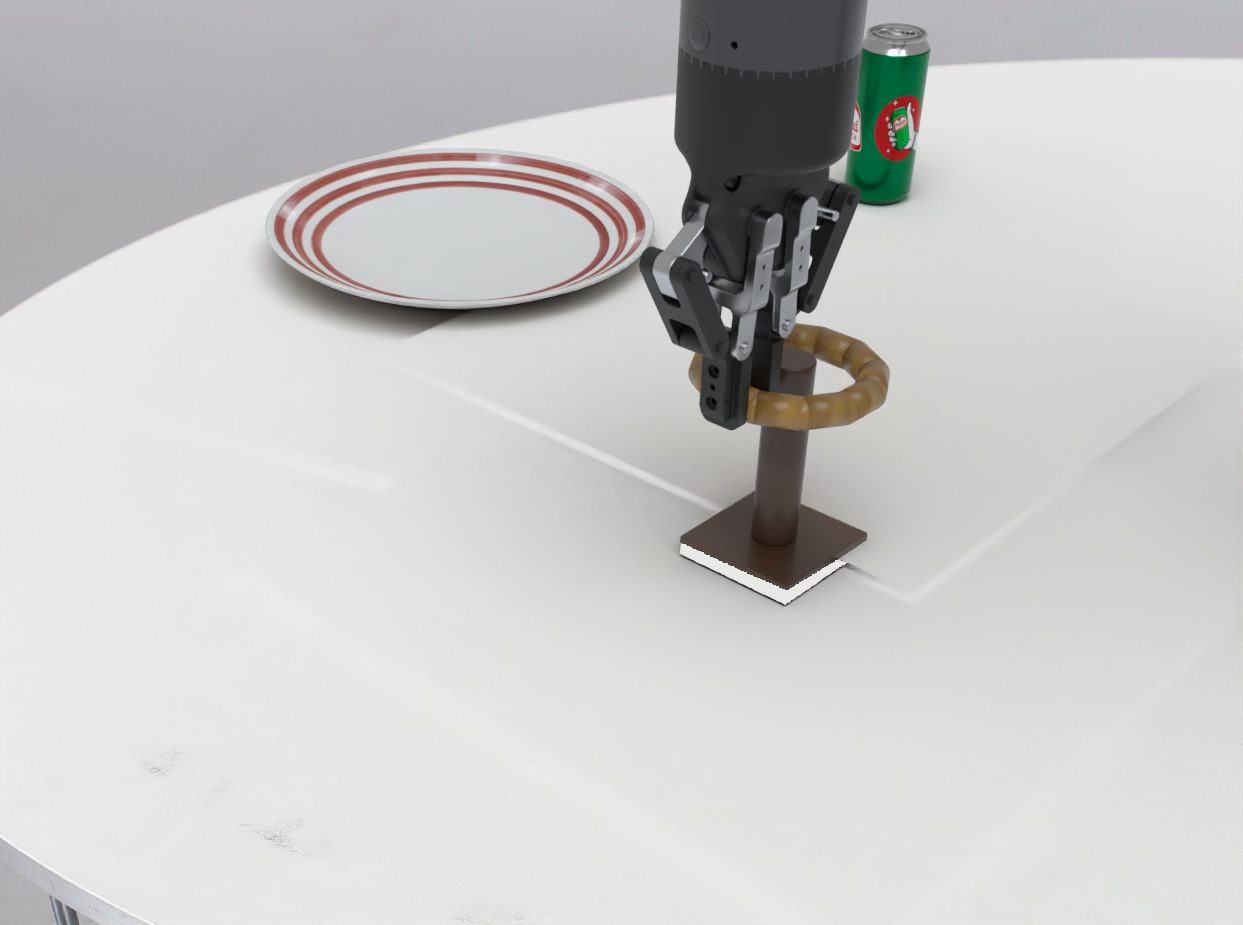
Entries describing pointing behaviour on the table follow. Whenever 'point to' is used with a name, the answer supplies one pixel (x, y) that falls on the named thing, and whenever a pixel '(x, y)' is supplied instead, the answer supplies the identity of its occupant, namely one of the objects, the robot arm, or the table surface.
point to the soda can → (888, 112)
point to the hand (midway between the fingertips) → (738, 413)
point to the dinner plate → (459, 227)
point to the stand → (778, 505)
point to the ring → (819, 407)
